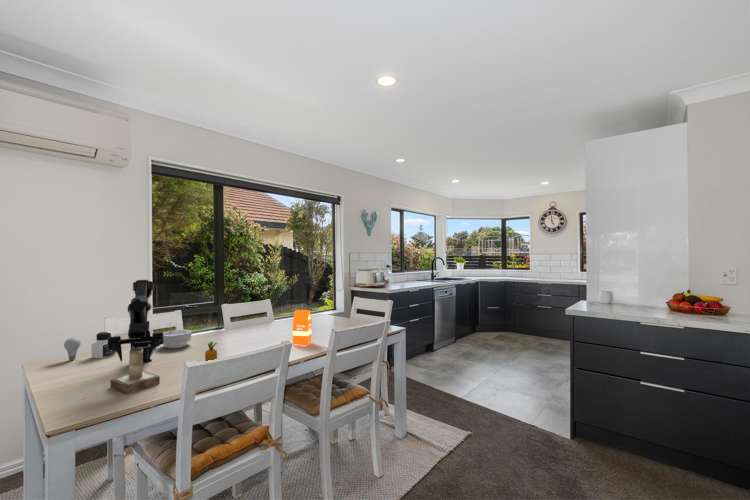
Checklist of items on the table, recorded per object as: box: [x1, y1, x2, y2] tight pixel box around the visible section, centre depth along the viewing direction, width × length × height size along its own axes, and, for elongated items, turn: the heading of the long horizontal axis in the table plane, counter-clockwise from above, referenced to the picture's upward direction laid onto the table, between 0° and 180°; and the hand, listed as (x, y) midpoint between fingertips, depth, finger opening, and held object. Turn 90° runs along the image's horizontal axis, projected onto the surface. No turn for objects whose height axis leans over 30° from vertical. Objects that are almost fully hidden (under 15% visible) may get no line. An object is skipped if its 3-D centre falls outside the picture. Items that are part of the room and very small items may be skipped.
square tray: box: [110, 370, 161, 395], centre depth 138 cm, size 12×12×3 cm
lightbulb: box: [63, 337, 82, 361], centre depth 168 cm, size 6×6×11 cm
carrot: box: [204, 341, 218, 361], centre depth 150 cm, size 5×5×15 cm
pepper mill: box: [128, 347, 144, 380], centre depth 138 cm, size 4×4×12 cm
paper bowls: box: [162, 329, 192, 349], centre depth 194 cm, size 15×15×8 cm
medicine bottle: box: [91, 331, 117, 359], centre depth 175 cm, size 7×7×12 cm
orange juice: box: [292, 309, 312, 346], centre depth 201 cm, size 8×9×20 cm
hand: (135, 359), depth 137 cm, fingers open, 9 cm apart
